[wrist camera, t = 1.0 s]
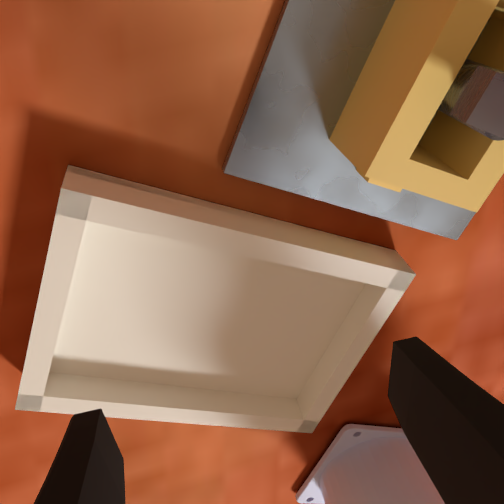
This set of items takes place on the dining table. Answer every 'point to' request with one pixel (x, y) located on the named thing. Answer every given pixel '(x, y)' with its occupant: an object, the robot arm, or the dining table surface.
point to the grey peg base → (331, 106)
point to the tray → (198, 310)
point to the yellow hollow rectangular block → (424, 103)
